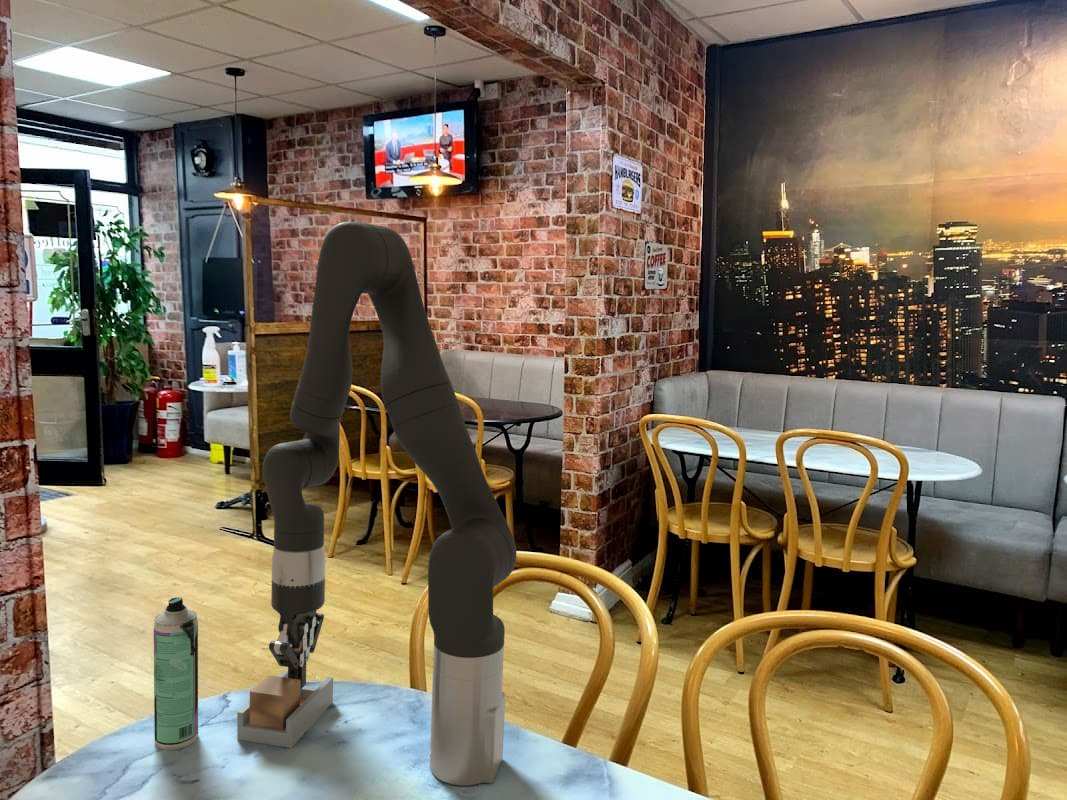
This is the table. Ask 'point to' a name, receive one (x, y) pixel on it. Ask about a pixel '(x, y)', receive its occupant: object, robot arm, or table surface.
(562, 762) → the table surface
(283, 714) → the walnut block
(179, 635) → the spray can
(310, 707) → the channel
